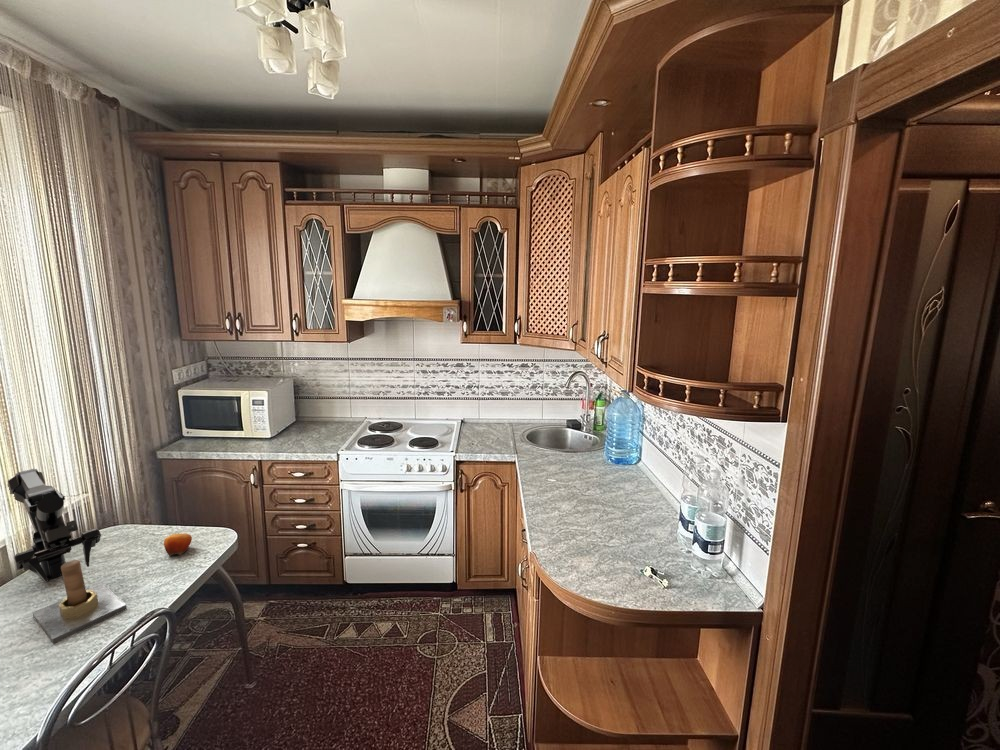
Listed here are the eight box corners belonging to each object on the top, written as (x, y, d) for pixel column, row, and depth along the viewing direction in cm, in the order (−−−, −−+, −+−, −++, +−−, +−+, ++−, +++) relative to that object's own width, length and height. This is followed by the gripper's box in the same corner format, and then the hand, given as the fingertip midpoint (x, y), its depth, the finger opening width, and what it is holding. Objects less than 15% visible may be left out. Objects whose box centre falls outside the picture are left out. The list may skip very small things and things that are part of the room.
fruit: (158, 559, 159) (160, 534, 162) (168, 559, 166) (169, 535, 169) (185, 555, 161) (187, 530, 164) (194, 555, 169) (195, 531, 171)
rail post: (73, 606, 136) (64, 562, 134) (91, 602, 138) (82, 558, 135) (68, 615, 133) (58, 570, 130) (86, 610, 135) (76, 566, 132)
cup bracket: (33, 617, 134) (30, 603, 133) (103, 587, 147) (101, 574, 146) (53, 644, 124) (50, 629, 123) (126, 609, 137) (124, 595, 136)
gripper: (7, 528, 131) (23, 579, 127) (93, 503, 146) (110, 548, 141) (8, 545, 138) (23, 594, 133) (91, 519, 152) (107, 562, 148)
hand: (68, 573), depth 139 cm, fingers open, 9 cm apart
